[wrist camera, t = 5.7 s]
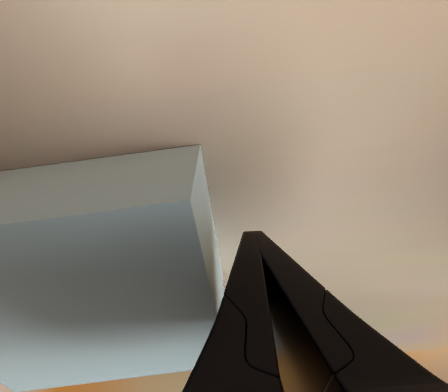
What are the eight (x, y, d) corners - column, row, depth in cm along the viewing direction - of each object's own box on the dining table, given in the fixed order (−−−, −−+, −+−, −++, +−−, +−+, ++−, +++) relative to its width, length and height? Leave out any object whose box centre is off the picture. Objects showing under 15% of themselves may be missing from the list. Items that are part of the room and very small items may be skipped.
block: (222, 269, 13) (228, 365, 8) (81, 288, 13) (14, 392, 8) (200, 144, 9) (190, 199, 5) (0, 171, 9) (-198, 250, 5)
